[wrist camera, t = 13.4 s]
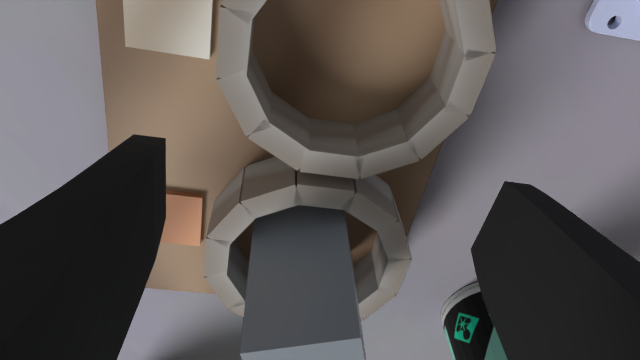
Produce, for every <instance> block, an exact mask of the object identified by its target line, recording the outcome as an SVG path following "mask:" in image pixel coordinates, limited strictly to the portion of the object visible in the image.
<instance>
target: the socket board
mask: <svg viewBox="0 0 640 360" xmlns="http://www.w3.org/2000/svg"><path fill="white" fill-rule="evenodd" d="M496 3H497V0H96V8H97V19H98V31H99V42H100V54H101V66H102V77H103V89H104V100H105V112H106V123H107V135H108V146H109V152H110V151H111V150H113V149H114V148H115V147H117V146H118V145H119V144H121V143H122V142H124V141H125V140H126V139H128V138H129V137H131V136H132V135H133V134H136V135H144V136H152V137H160V138H166V220H165V224H164V228H163V233H162V237H161V241H160V245H159V249H158V253H157V256H156V260H155V263H154V265H153V268H152V271H151V273H150V276H149V279H148V281H147V284H146V286H145V288H153V289H165V290H176V291H188V292H199V293H211V294H217V296H218V297H219V299H220V300H221V301H222V303H223V304H224V305H225V307H226V308H227V309H229V310H230V311H232V312H234V313H236V314H238V315H240V316H242V317H244V308H245V298H246V289H247V280H248V270H249V261H250V251H251V242H252V233H253V223H254V220H255V218H258V217H261V216H264V215H268V214H271V213H274V212H277V211H281V210H284V209H287V208H290V207H294V206H297V205H304V206H313V207H322V208H330V209H339V210H345V215H346V222H347V228H348V234H349V240H350V247H351V253H352V260H353V268H354V275H355V283H356V290H357V297H358V305H359V312H360V319H362V320H364V319H365V318H367V317H368V316H369V315H371V314H372V313H373V312H375V311H376V310H377V309H379V308H380V307H381V306H383V305H384V304H386V303H387V302H388V301H390V300H391V299H392V298H394V297H395V296H396V294H398V292H399V289H400V287H401V284H402V282H403V279H404V277H405V275H406V272H407V270H408V267H409V265H410V262H411V260H412V259H411V258H412V257H411V254H410V250H409V246H408V243H407V239H406V236H407V233H408V231H409V228H410V226H411V223H412V221H413V218H414V215H415V213H416V210H417V208H418V205H419V202H420V200H421V197H422V195H423V192H424V189H425V187H426V184H427V182H428V179H429V176H430V174H431V171H432V169H433V166H434V164H435V161H436V158H437V156H438V153H439V151H440V148H441V145H442V143H443V140H444V139H446V138H447V137H448V136H449V135H450V134H451V133H452V132H453V131H455V130H456V129H457V128H458V127H459V126H460V125H461V124H462V123H464V122H465V121H466V120H467V119H468V118H469V117H468V115H471V114H472V111H473V109H474V106H475V104H476V101H477V99H478V96H479V94H480V92H481V89H482V87H483V84H484V82H485V79H486V77H487V75H488V72H489V70H490V67H491V65H492V62H493V60H494V57H495V55H496V54H495V52H494V51H496V45H495V38H494V31H493V23H492V13H493V11H494V8H495V5H496Z"/></svg>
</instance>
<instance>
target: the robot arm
mask: <svg viewBox="0 0 640 360" xmlns="http://www.w3.org/2000/svg"><path fill="white" fill-rule="evenodd" d="M613 16H616V19H615V21H614V22H613V24H611V25H609V26H607V24H608V21H609V20H610V18H612V17H613ZM585 25H586V27H587V28H588V29H589V30H591V31H593V32H595V33H600V34H605V35H611V36H616V37H622V38H627V39H633V40H638V41H640V0H594V1H593V3H592V5H591V7H590V9H589V11H588V13H587V15H586V18H585ZM165 220H166V138H160V137H152V136H144V135H136V134H133V135H132V136H131V137H129V138H128V139H126V140H125V141H124V142H122V143H121V144H119V145H118V146H117V147H115V148H114V149H113V150H111V151H110V152H109V153H107V154H106V155H105V156H103V157H102V158H101V159H99V160H98V161H96V162H95V163H94V164H92V165H91V166H90V167H88V168H87V169H86V170H84V171H83V172H81V173H80V174H78V175H77V176H76V177H74V178H73V179H71V180H70V181H69V182H67V183H66V184H64V185H63V186H61V187H60V188H59V189H57V190H55V191H54V192H52V193H51V194H49V195H48V196H46V197H44V198H43V199H41V200H40V201H38V202H36V203H35V204H33V205H32V206H30V207H29V208H27V209H25V210H24V211H22V212H21V213H19V214H18V215H16V216H14V217H12V218H11V219H9V220H7V221H6V222H4V223H2V224H0V360H117V357H118V355H119V352H120V350H121V347H122V345H123V342H124V340H125V337H126V335H127V332H128V330H129V327H130V324H131V322H132V319H133V317H134V314H135V312H136V309H137V307H138V304H139V302H140V299H141V297H142V294H143V291H144V289H145V286H146V284H147V281H148V279H149V276H150V273H151V271H152V268H153V265H154V263H155V260H156V256H157V253H158V249H159V245H160V241H161V237H162V233H163V228H164V224H165ZM471 252H472V257H473V262H474V266H475V271H476V275H477V279H478V283H479V287H480V290H481V293H482V296H483V299H484V301H485V304H486V306H487V309H488V311H489V314H490V317H491V319H492V322H493V324H494V327H495V329H496V332H497V334H498V337H499V339H500V342H501V344H502V347H503V349H504V352H505V354H506V357H507V359H508V360H640V262H639V261H637V260H636V259H635V258H633V257H632V256H630V255H629V254H628V253H626V252H625V251H623V250H622V249H621V248H619V247H618V246H616V245H615V244H614V243H612V242H611V241H610V240H608V239H607V238H606V237H604V236H603V235H602V234H600V233H599V232H598V231H596V230H595V229H593V228H592V227H591V226H589V225H588V224H587V223H585V222H584V221H583V220H581V219H580V218H579V217H577V216H576V215H575V214H573V213H572V212H571V211H569V210H568V209H566V208H565V207H564V206H562V205H561V204H560V203H558V202H557V201H555V200H554V199H552V198H551V197H550V196H548V195H547V194H545V193H544V192H542V191H540V190H539V189H537V188H535V187H534V186H532V185H529V184H521V183H514V182H506V181H505V182H504V184H503V186H502V188H501V190H500V192H499V194H498V196H497V198H496V200H495V202H494V204H493V206H492V208H491V210H490V212H489V214H488V216H487V218H486V220H485V222H484V224H483V226H482V228H481V230H480V232H479V234H478V236H477V238H476V240H475V242H474V244H473V246H472V248H471Z"/></svg>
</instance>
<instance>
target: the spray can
mask: <svg viewBox="0 0 640 360" xmlns="http://www.w3.org/2000/svg"><path fill="white" fill-rule="evenodd" d="M441 319H442V324H443V328H444V331H445V335H446V338H447V341H448V345H449V348H450V351H451V355H452V358H453V360H508V359H507V357H506V354H505V352H504V349H503V347H502V344H501V342H500V339H499V337H498V334H497V332H496V329H495V327H494V324H493V322H492V319H491V317H490V314H489V311H488V309H487V306H486V304H485V301H484V299H483V296H482V293H481V290H480V287H479V283H478V282H476V283H473V284H471V285H468V286H466V287H464V288H462V289H460V290H459V291H457V292H456V293H454V294H453V295H452V296H451V297H450V298H449V299H448V300H447V301H446V303H445V304H444V306H443V309H442V311H441Z"/></svg>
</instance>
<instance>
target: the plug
mask: <svg viewBox="0 0 640 360" xmlns="http://www.w3.org/2000/svg"><path fill="white" fill-rule="evenodd" d="M240 356H241V358H242V360H366V356H365V349H364V341H363V334H362V327H361V319H360V312H359V305H358V297H357V290H356V283H355V275H354V268H353V260H352V253H351V247H350V240H349V234H348V228H347V222H346V215H345V210H339V209H330V208H322V207H313V206H304V205H297V206H294V207H290V208H287V209H284V210H281V211H277V212H274V213H271V214H268V215H264V216H261V217H258V218H255V220H254V223H253V233H252V242H251V251H250V261H249V270H248V280H247V289H246V298H245V308H244V317H243V327H242V336H241V345H240Z"/></svg>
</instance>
